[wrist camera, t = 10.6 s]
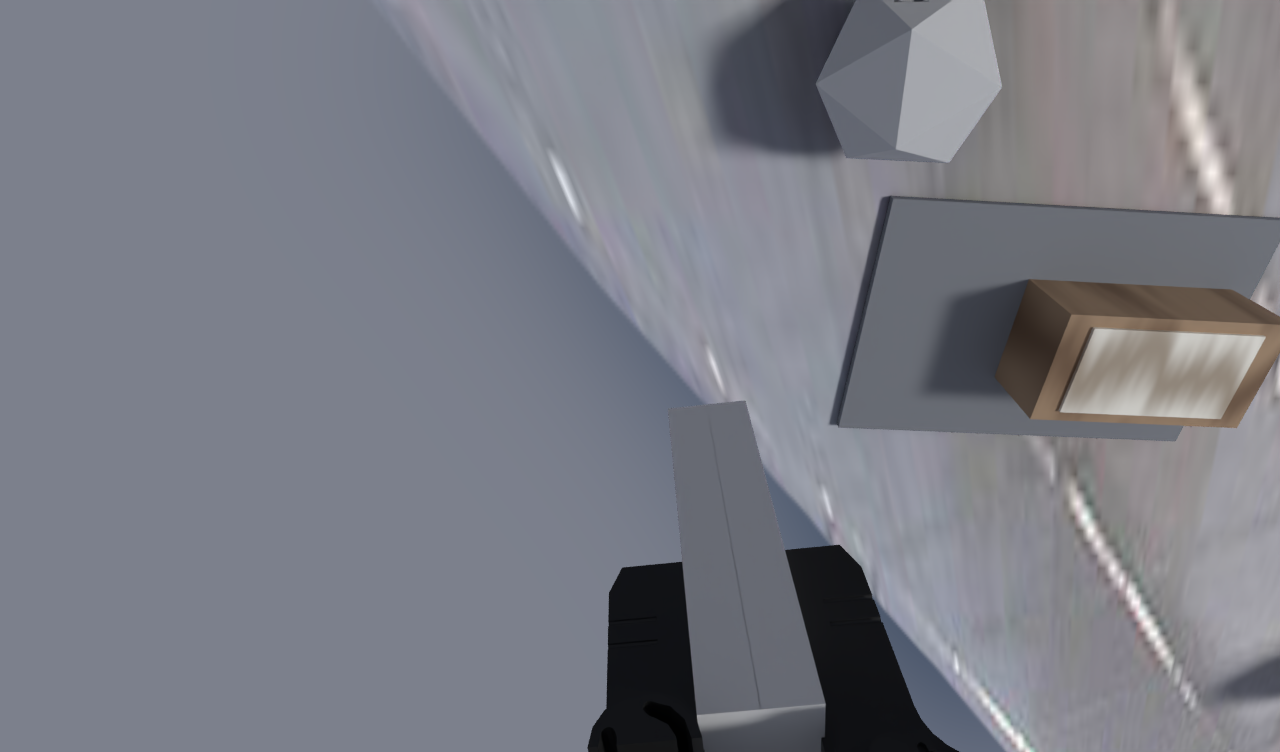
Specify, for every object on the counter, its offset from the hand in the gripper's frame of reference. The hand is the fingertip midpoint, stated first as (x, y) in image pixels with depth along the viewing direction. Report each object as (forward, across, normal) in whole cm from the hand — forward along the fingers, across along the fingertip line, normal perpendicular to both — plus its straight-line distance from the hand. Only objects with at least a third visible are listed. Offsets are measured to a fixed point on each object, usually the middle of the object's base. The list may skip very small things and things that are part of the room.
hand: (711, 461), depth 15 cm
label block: (+27, +21, -15) cm, 38 cm away
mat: (+30, +24, -15) cm, 41 cm away
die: (+31, +12, +2) cm, 33 cm away
